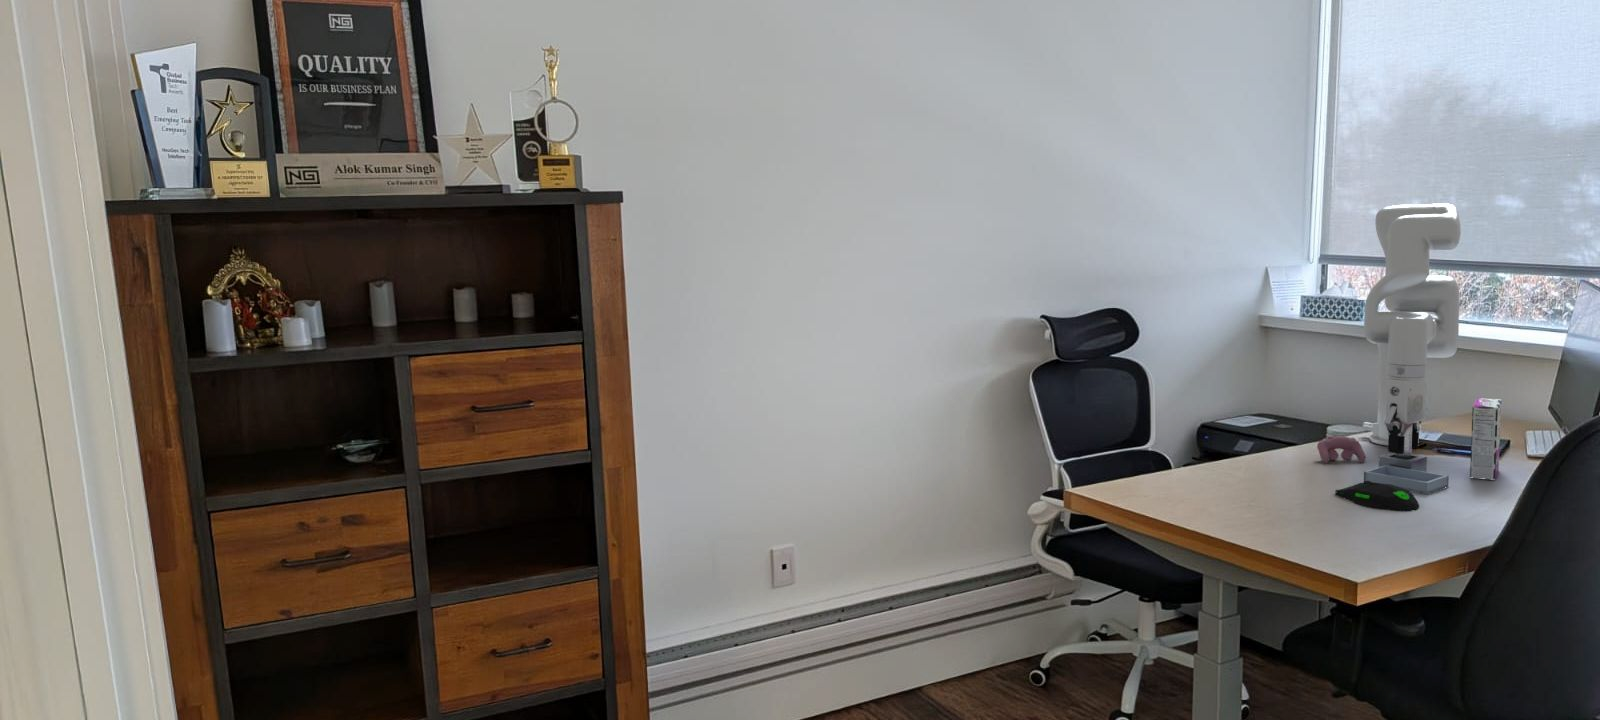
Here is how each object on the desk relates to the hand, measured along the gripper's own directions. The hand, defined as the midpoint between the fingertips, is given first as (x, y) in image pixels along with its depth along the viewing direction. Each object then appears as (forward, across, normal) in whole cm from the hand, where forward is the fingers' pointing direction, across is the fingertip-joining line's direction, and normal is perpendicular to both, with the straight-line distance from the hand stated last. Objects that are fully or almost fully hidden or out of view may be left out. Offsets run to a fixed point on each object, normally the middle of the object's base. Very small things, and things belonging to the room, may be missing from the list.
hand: (1403, 450), depth 232 cm
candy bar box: (+6, +12, -12) cm, 18 cm away
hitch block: (+6, 0, 0) cm, 6 cm away
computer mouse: (+6, -26, -7) cm, 28 cm away
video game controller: (+6, +2, +15) cm, 17 cm away
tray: (+6, -9, -5) cm, 12 cm away
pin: (+6, 0, 0) cm, 6 cm away
